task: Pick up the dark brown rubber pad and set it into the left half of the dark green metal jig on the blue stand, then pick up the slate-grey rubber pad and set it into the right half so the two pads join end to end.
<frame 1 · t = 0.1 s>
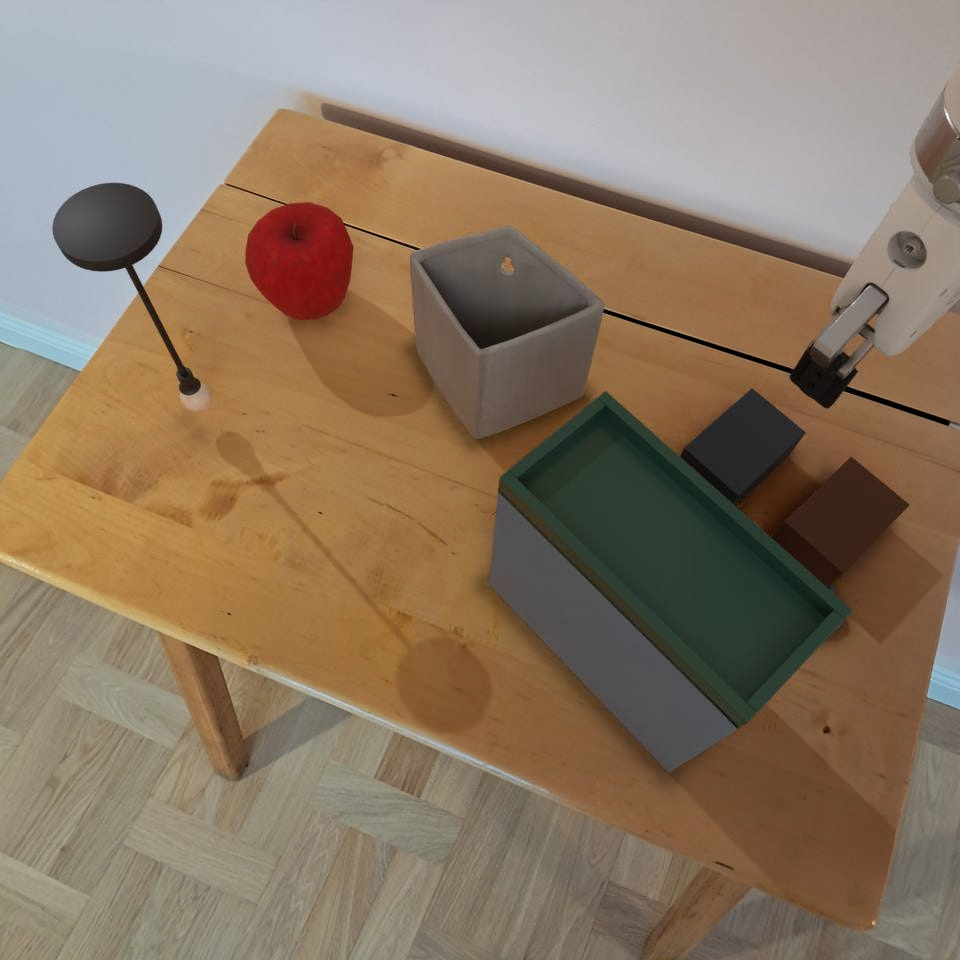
hand: (856, 350, 57), 22 cm above the table, tool pointing down, fingers open, 9 cm apart
slate pad: (730, 464, 78), on the table
smartphone: (740, 602, 73), on the table
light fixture: (206, 417, 79), on the table
planter: (488, 405, 80), on the table
apple: (311, 302, 85), on the table
brown pad: (826, 534, 75), on the table
stand: (616, 635, 71), on the table
jig: (663, 554, 54), resting on stand
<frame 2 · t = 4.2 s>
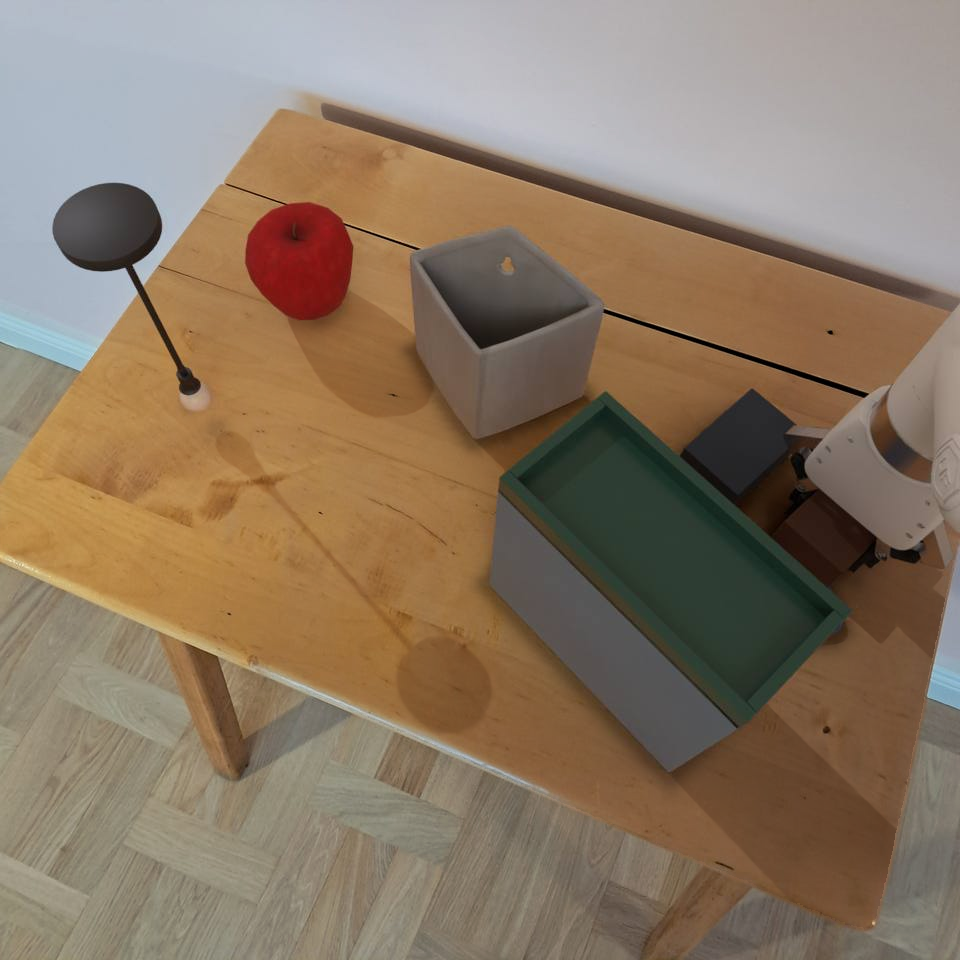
hand: (829, 531, 74), 1 cm above the table, tool pointing down, fingers closed on brown pad, 6 cm apart
brown pad: (826, 534, 75), on the table, touching gripper
everything else where it was.
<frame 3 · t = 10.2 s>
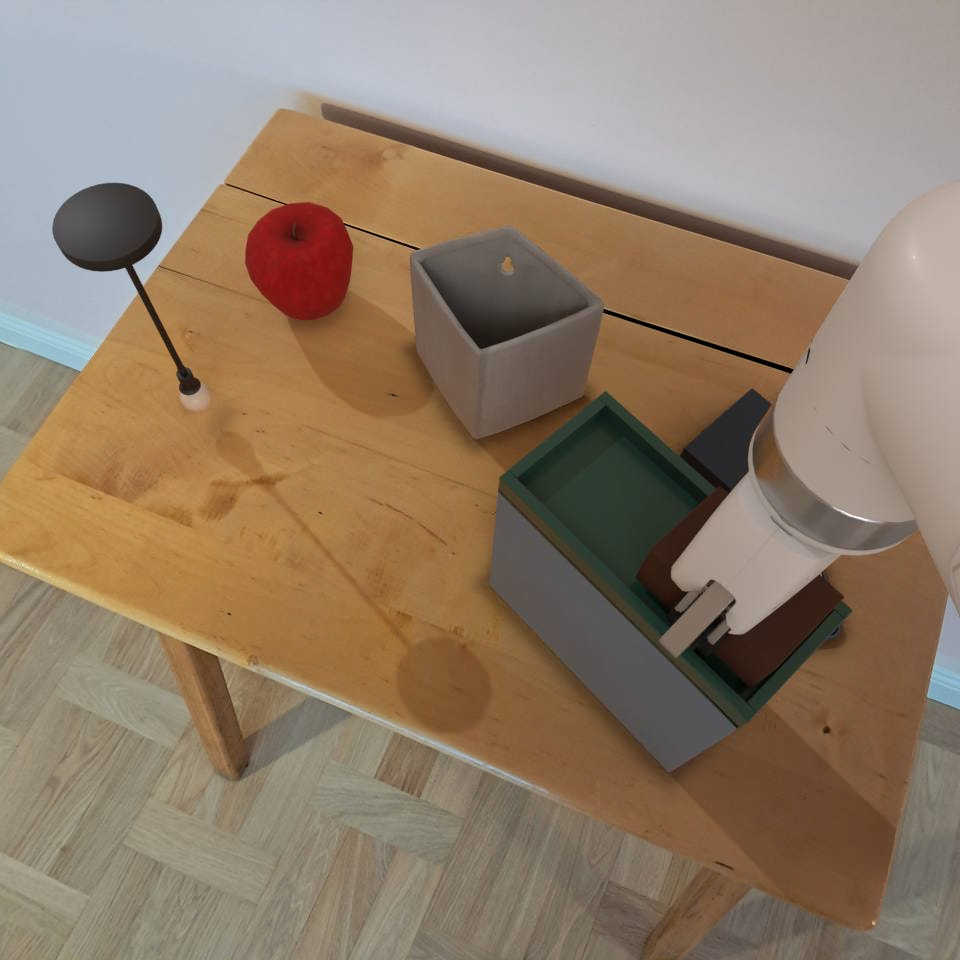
hand: (727, 596, 51), 20 cm above the table, tool pointing down, fingers closed on brown pad, 6 cm apart
brown pad: (723, 598, 52), point 19 cm above the table, touching gripper
everything else where it was.
when the fingers open (21 cm above the table, at t = 18.4 s): brown pad drops 2 cm, resting on jig.
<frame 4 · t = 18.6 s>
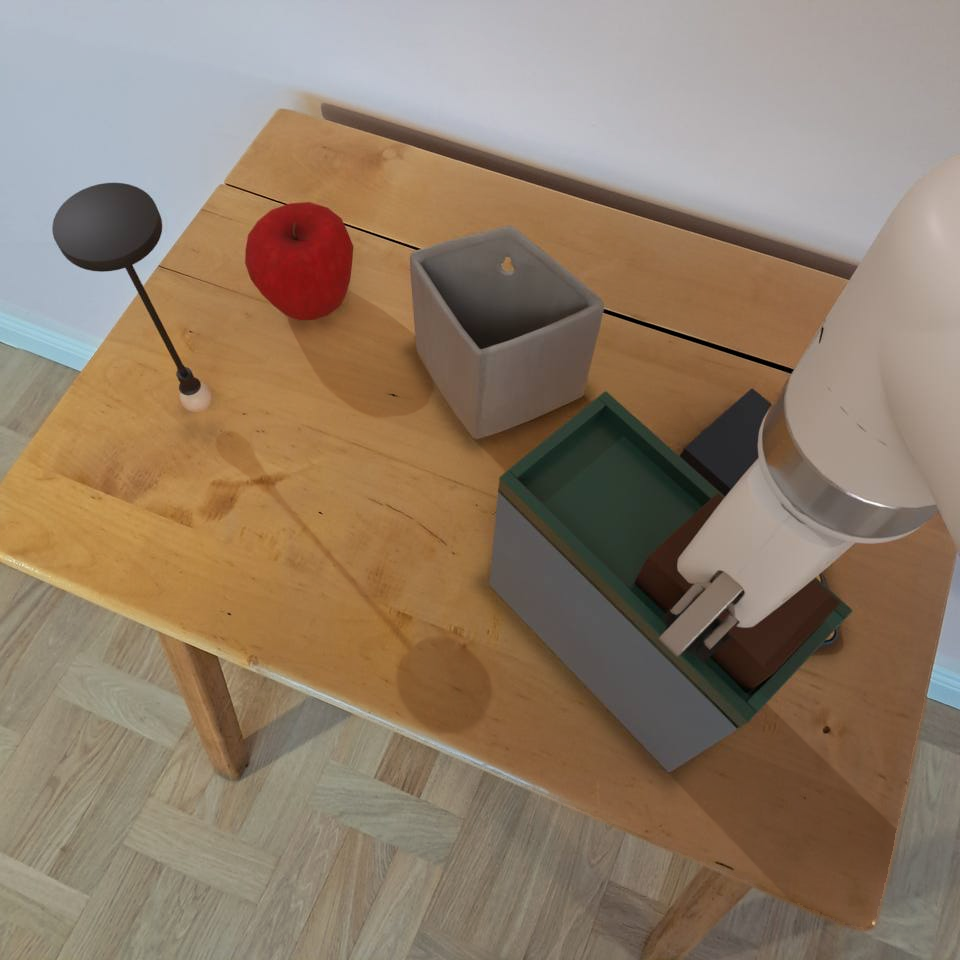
hand: (736, 588, 50), 22 cm above the table, tool pointing down, fingers open, 8 cm apart
brown pad: (721, 604, 52), point 19 cm above the table, touching jig
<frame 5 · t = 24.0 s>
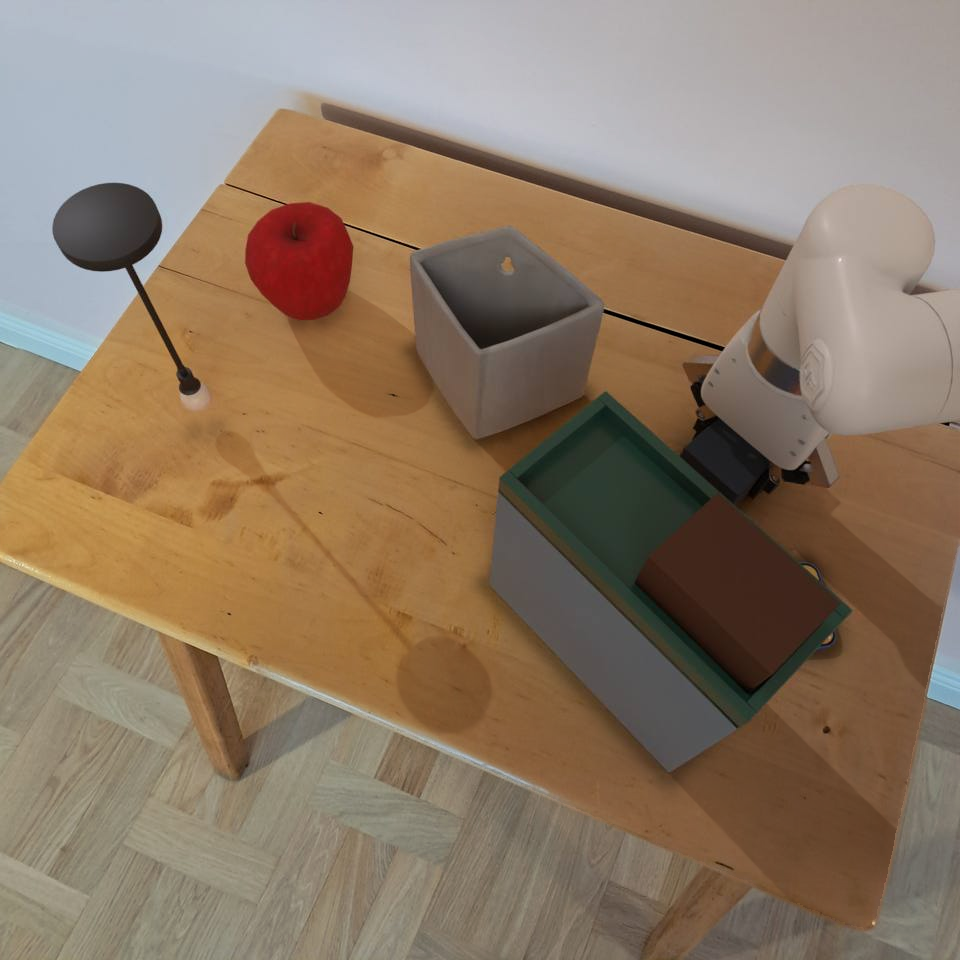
hand: (732, 461, 77), 1 cm above the table, tool pointing down, fingers closed on slate pad, 6 cm apart
slate pad: (730, 464, 78), on the table, touching gripper
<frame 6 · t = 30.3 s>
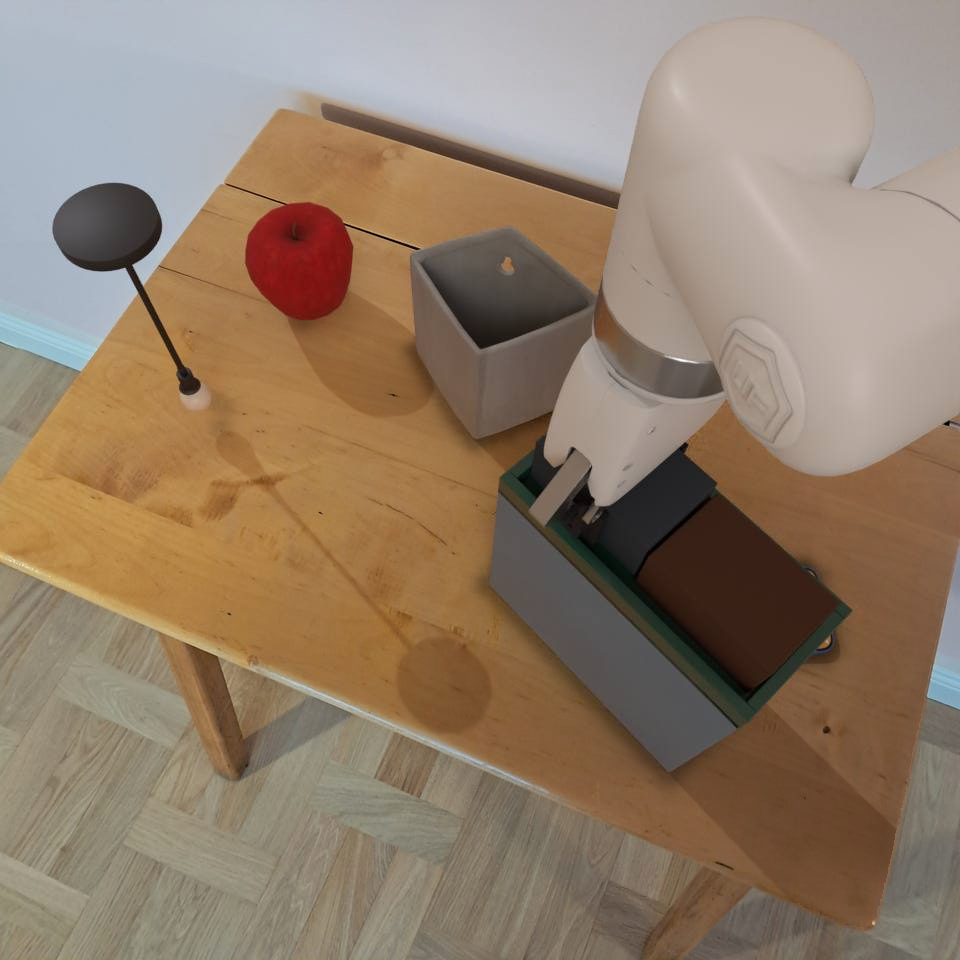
hand: (615, 491, 54), 20 cm above the table, tool pointing down, fingers closed on slate pad, 6 cm apart
slate pad: (613, 495, 55), point 19 cm above the table, touching gripper
when the fingers open (21 cm above the table, at t = 38.3 s): slate pad drops 2 cm, resting on jig.
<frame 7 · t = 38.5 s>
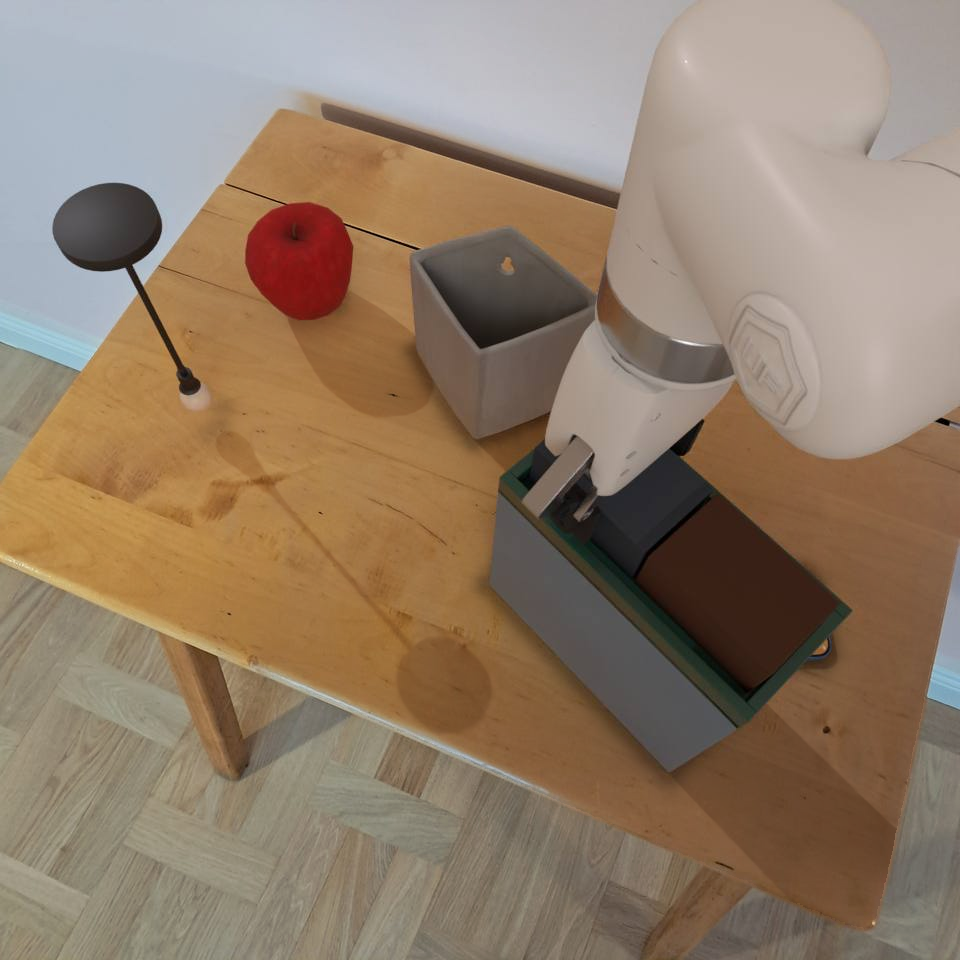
hand: (619, 479, 53), 22 cm above the table, tool pointing down, fingers open, 8 cm apart
slate pad: (611, 499, 55), point 19 cm above the table, touching jig
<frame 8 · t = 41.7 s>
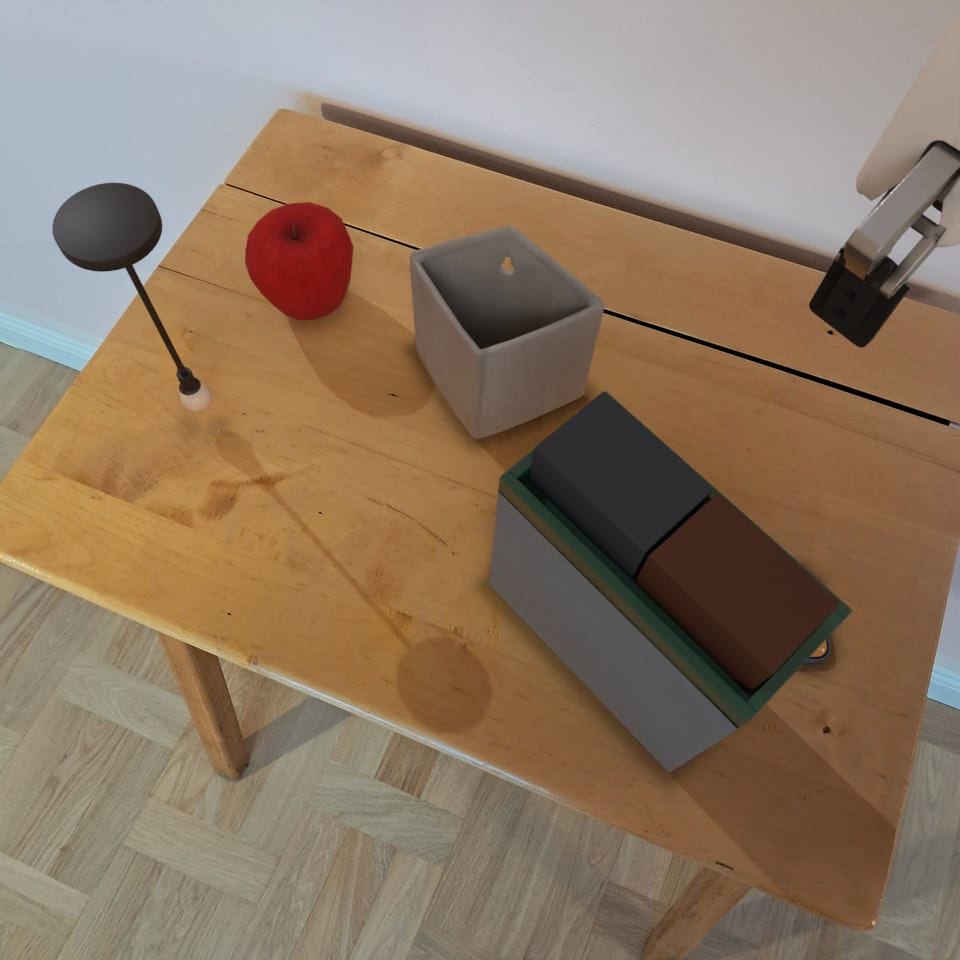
hand: (900, 270, 41), 36 cm above the table, tool pointing down, fingers open, 9 cm apart
at the end: brown pad inside the target area on the jig (0.2 cm from its centre), point 0.6 cm above the jig's base; slate pad inside the target area on the jig (0.3 cm from its centre), point 0.6 cm above the jig's base; slate pad 9.3 cm from the brown pad (horizontally) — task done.
